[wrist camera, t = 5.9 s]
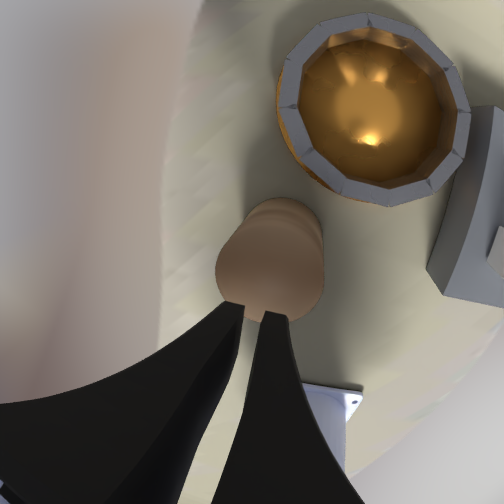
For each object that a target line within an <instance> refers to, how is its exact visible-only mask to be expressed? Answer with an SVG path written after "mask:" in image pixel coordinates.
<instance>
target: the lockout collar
mask: <svg viewBox="0 0 504 504" xmlns="http://www.w3.org/2000/svg"><path fill="white" fill-rule="evenodd" d="M286 58H287V59H285V62H284V66H283V69H282V71H281V74H280V77H279V81H278V85H277V93H276V109H277V116H278V122H279V126H280V129H281V132H282V135H283V137H284V139H285V142H286V144H287V146H288V148H289V149H290V151H291V153H292V154H293V156H294V157H295V159H296V160H297V161H298V163H299V164H300V165H301V166H302V168H303V169H304V170H305V171H306V172H307V173H308V174H309V175H310V176H311V177H312V178H314V179H315V180H316V181H318V182H319V183H320V184H322V185H323V186H325V187H326V188H328V189H330V190H331V191H333V192H335V193H337V194H339V195H341V196H344V197H347V198H350V199H353V200H356V201H362V202H367V203H374V204H378V205H382V206H385V207H388V205H389V206H390V207H393V206H396V205H399V204H403V203H406V202H410V201H413V200H416V199H420V198H423V197H427V196H430V195H433V192H434V193H436V192H437V191H438V190H439V188H440V187H441V186H442V185H443V184H444V183H445V182H446V181H447V179H448V178H449V177H450V176H451V175H452V174H453V172H454V171H455V170H456V169H457V168H458V166H459V165H460V164H461V163H462V162H463V160H462V158H464V157H465V152H466V147H467V141H468V135H469V128H470V121H471V114H470V113H468V112H471V109H470V106H469V103H468V100H467V97H466V94H465V91H464V88H463V85H462V82H461V80H460V77H459V74H458V72H457V69H456V67H455V66H452V65H453V64H454V63H453V62H452V61H451V60H450V59H449V58H448V57H447V56H446V55H445V54H444V53H443V52H442V51H441V50H440V49H439V48H438V47H437V46H436V45H435V44H434V43H433V42H432V41H431V40H430V39H429V38H428V37H427V36H425V35H424V34H423V33H422V32H421V31H420V30H419V29H417V30H416V31H415V27H414V26H411V25H408V24H405V23H402V22H399V21H396V20H393V19H390V18H387V17H383V16H380V15H376V14H373V13H369V12H368V14H366V12H364V13H358V14H353V15H348V16H344V17H339V18H335V19H331V20H327V21H323V22H320V25H319V24H316V25H315V27H314V28H313V29H312V30H311V31H310V32H309V33H308V34H307V35H306V36H305V37H304V38H303V39H302V40H301V41H300V42H299V43H298V44H297V45H296V46H295V48H294V49H293V50H292V51H291V52H290V53H289V54H288V55H287V56H286Z"/></svg>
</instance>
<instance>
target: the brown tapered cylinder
mask: <svg viewBox="0 0 504 504" xmlns="http://www.w3.org/2000/svg"><path fill="white" fill-rule="evenodd" d="M215 275H216V282H217V285H218V288H219V291H220V293H221V294H222V296H223V298H224V299H225V301H228V302H233V303H237V304H241V305H245V311H244V317H246V318H248V319H251V320H253V321H256V322H260V323H261V321H262V318H263V316H264V313H265V310H266V311H271V312H275V313H280V314H284V315H286V316H287V317H288V319H289V322H292V321H294V320H297V319H299V318H301V317H303V316H304V315H306V314H307V313H308V312H309V311H310V310H311V309H312V308H313V307H314V306H315V305H316V304H317V302H318V300H319V299H320V297H321V294H322V291H323V287H324V259H323V238H322V229H321V225H320V223H319V221H318V219H317V217H316V216H315V214H314V213H313V212H312V211H311V210H310V209H309V208H308V207H307V206H305V205H304V204H302V203H301V202H298V201H296V200H293V199H289V198H273V199H269V200H266V201H264V202H262V203H260V204H259V205H257V206H256V207H255V208H254V209H253V210H252V211H251V212H250V213H249V215H248V216H247V217H246V218H245V220H244V221H243V222H242V223H241V225H240V226H239V227H238V229H237V230H236V231H235V232H234V234H233V235H232V236H231V237H230V239H229V240H228V241H227V243H226V244H225V245H224V247H223V248H222V250H221V251H220V253H219V255H218V258H217V261H216V267H215Z"/></svg>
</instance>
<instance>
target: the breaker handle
mask: <svg viewBox="0 0 504 504" xmlns="http://www.w3.org/2000/svg"><path fill="white" fill-rule="evenodd" d="M486 262H487V263H488V264H489V265H490V266H491V267H492V268H493V269H494V270H495V271H496V272H497V273H498V274H499V275H500V276H501V277H502V278H503V279H504V227H502V226H499V228H498V231H497V234H496V237H495V240H494V243H493V246H492V248H491V251H490V254H489V256H488V259H487V261H486Z"/></svg>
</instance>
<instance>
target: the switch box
mask: <svg viewBox="0 0 504 504" xmlns="http://www.w3.org/2000/svg"><path fill="white" fill-rule="evenodd" d="M470 109H471V112H468V113H470V114H471V121H470V128H469V135H468V141H467V147H466V152H465V157H464V158H462V160H463V162H462V163H461V164H460V165H459V166H458V168H457V169H456V174H455V178H454V182H453V186H452V190H451V194H450V198H449V202H448V205H447V209H446V212H445V215H444V219H443V222H442V225H441V228H440V231H439V235H438V238H437V240H436V243H435V246H434V249H433V252H432V255H431V257H430V260H429V263H428V265H427V268H426V271H427V272H428V274H429V275H430V277H431V278H432V280H433V281H434V283H435V284H436V286H437V287H438V289H439V290H440V292H441V294H442V295H443V296H447V297H452V298H457V299H462V300H467V301H471V302H476V303H481V304H486V305H490V306H495V307H500V308H504V279H503V278H502V277H501V276H500V275H499V274H498V273H497V272H496V271H495V270H494V269H493V268H492V267H491V266H490V265H489V264H488V263H487V262H486V261H487V259H488V256H489V254H490V251H491V248H492V246H493V243H494V240H495V237H496V234H497V231H498V228H499V226H502V227H504V111H503V110H501V109H500V108H498V107H496V106H479V107H470Z"/></svg>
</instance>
